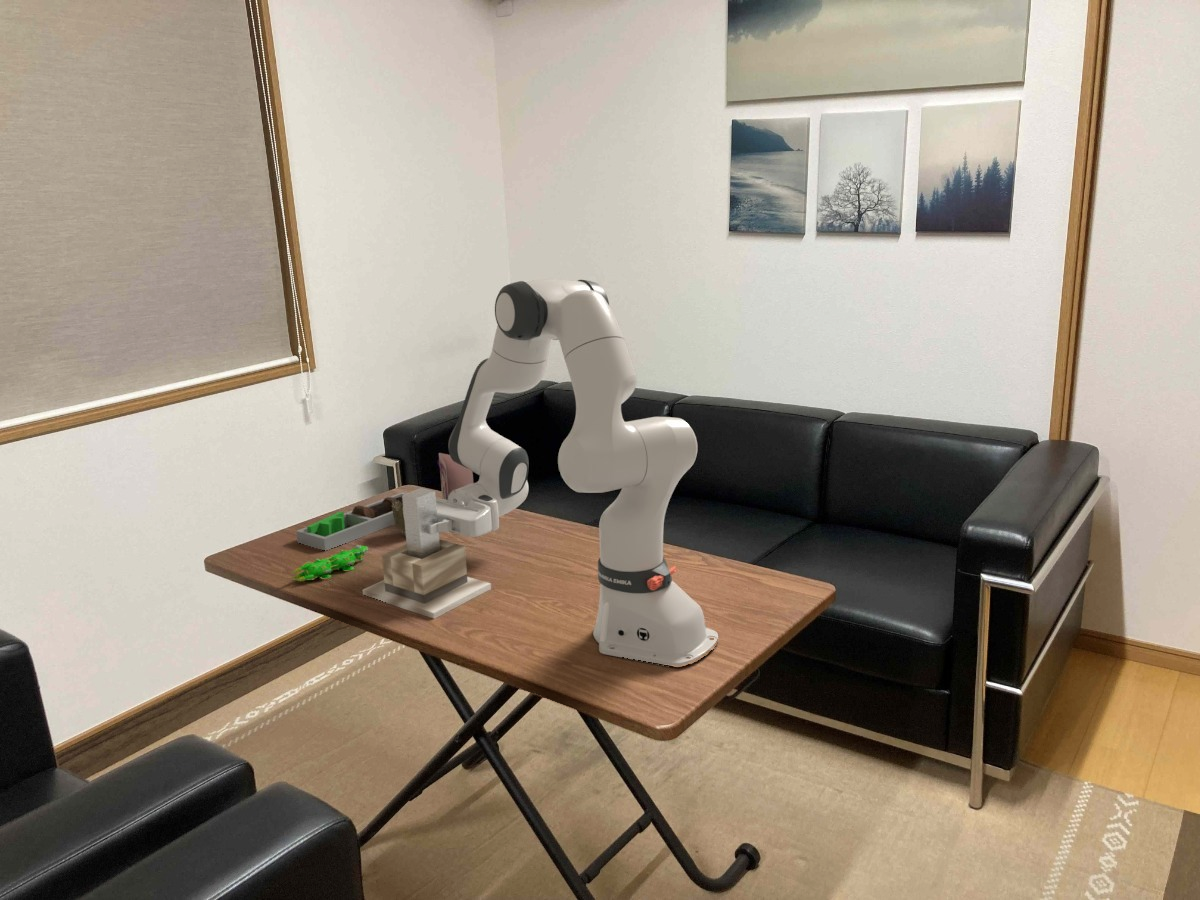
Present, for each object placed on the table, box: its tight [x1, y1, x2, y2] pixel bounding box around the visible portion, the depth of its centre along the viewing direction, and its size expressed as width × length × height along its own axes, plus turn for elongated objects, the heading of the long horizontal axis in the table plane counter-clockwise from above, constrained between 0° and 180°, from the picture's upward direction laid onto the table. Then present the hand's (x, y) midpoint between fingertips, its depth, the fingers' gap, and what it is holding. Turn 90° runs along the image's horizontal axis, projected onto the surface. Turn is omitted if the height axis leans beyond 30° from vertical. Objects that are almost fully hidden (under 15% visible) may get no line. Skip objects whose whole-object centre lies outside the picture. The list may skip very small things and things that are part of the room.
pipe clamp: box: [306, 511, 346, 537], centre depth 220 cm, size 11×4×5 cm, turn 154°
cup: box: [391, 500, 406, 537], centre depth 219 cm, size 8×7×8 cm
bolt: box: [351, 496, 403, 519], centre depth 232 cm, size 6×5×15 cm
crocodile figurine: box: [291, 544, 369, 582], centre depth 199 cm, size 7×18×4 cm, turn 138°
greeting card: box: [436, 452, 474, 500], centre depth 230 cm, size 11×7×15 cm, turn 18°
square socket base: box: [362, 538, 492, 620], centre depth 187 cm, size 20×16×9 cm
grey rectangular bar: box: [402, 487, 440, 559], centre depth 185 cm, size 4×5×16 cm
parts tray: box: [295, 491, 407, 552], centre depth 227 cm, size 10×33×3 cm, turn 144°
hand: (418, 527), depth 184 cm, fingers closed on grey rectangular bar, 4 cm apart
